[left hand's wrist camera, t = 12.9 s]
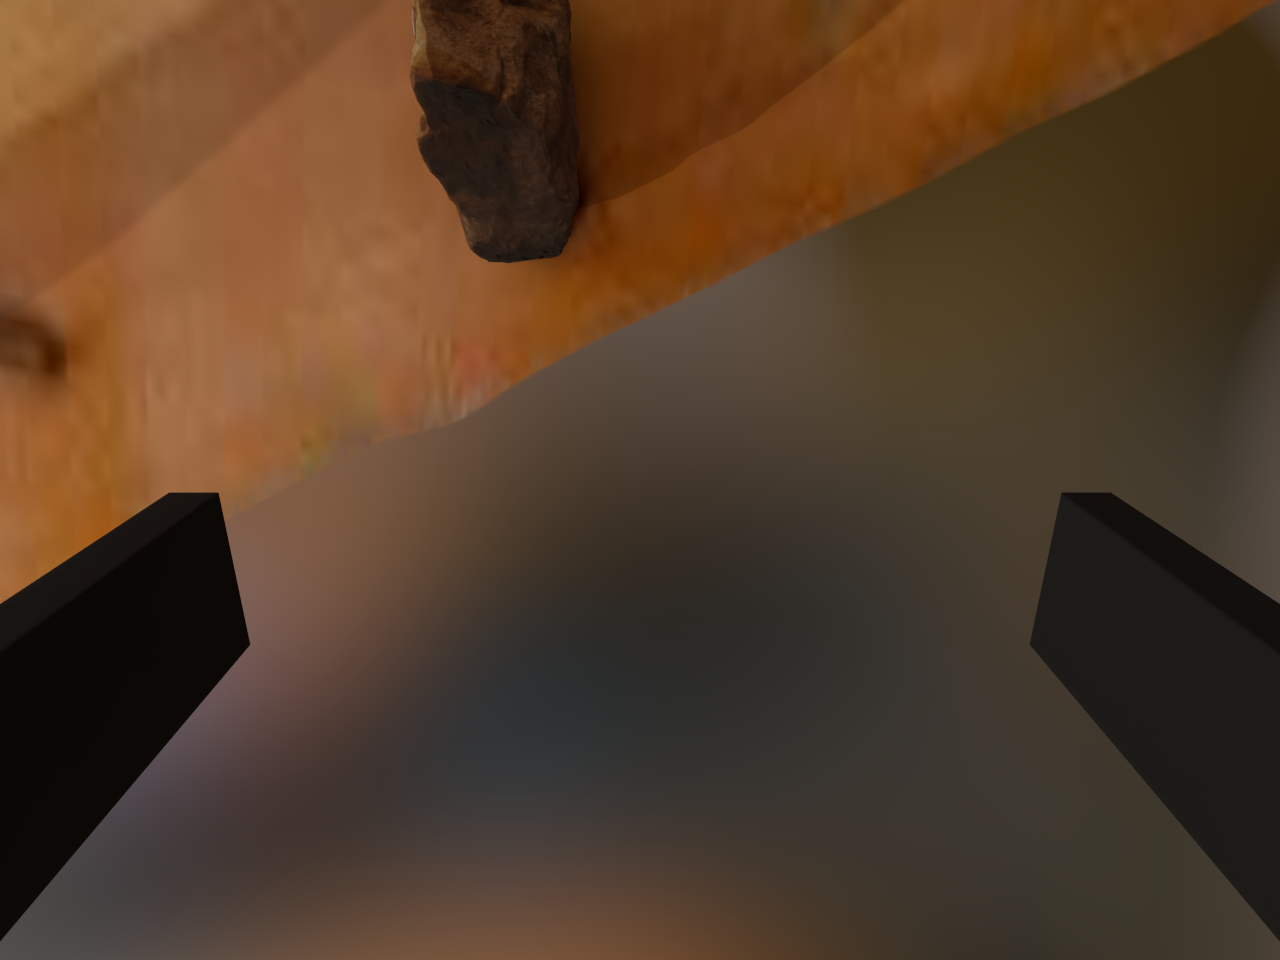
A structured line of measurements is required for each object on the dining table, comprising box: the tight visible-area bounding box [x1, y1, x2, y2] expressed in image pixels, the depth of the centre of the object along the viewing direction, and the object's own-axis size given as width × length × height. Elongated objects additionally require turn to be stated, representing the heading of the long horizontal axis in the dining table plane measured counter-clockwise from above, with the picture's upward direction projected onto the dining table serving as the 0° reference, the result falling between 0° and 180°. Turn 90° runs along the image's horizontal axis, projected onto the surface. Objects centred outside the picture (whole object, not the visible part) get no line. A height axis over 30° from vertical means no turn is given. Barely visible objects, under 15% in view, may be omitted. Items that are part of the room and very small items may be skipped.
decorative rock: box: [410, 0, 579, 263], centre depth 31 cm, size 12×6×11 cm, turn 177°
